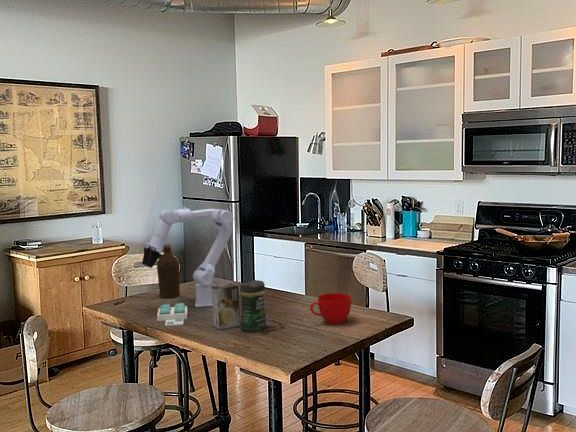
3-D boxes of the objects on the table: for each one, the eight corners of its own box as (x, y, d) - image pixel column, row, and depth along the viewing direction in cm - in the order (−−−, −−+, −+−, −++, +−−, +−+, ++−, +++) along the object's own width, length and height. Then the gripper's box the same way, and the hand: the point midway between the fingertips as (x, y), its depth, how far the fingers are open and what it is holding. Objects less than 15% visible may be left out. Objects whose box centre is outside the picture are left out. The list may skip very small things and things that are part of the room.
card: (183, 319, 243) (183, 318, 242) (183, 324, 236) (183, 323, 236) (166, 321, 241) (166, 319, 241) (165, 325, 235) (165, 324, 235)
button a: (184, 308, 254) (184, 302, 253) (184, 310, 250) (184, 304, 250) (175, 309, 253) (175, 303, 253) (175, 311, 249) (174, 305, 249)
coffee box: (234, 322, 237) (232, 282, 235) (240, 325, 231) (239, 285, 229) (213, 325, 233) (211, 285, 231) (218, 329, 227) (216, 288, 225)
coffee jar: (253, 333, 220) (251, 284, 218) (237, 330, 225) (235, 282, 223) (270, 327, 228) (268, 280, 226) (254, 324, 233) (252, 277, 231)
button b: (184, 312, 248) (184, 306, 247) (184, 314, 244) (183, 308, 244) (175, 312, 247) (174, 306, 247) (174, 315, 243) (174, 309, 243)
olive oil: (185, 296, 283) (182, 244, 280) (164, 300, 277) (161, 247, 274) (175, 292, 291) (172, 242, 289) (154, 296, 285) (151, 245, 282)
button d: (169, 313, 247) (169, 307, 247) (169, 315, 243) (169, 309, 243) (160, 313, 246) (160, 307, 246) (160, 316, 242) (159, 310, 242)
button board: (187, 311, 255) (187, 305, 255) (187, 319, 243) (186, 313, 243) (159, 313, 253) (158, 308, 253) (157, 321, 241) (157, 315, 241)
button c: (170, 309, 253) (170, 303, 252) (170, 311, 249) (169, 305, 249) (161, 310, 252) (160, 304, 252) (160, 312, 248) (160, 306, 248)
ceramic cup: (304, 321, 234) (303, 296, 233) (341, 315, 240) (341, 291, 239) (318, 330, 222) (317, 304, 221) (357, 323, 229) (357, 298, 228)
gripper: (146, 231, 258) (133, 260, 256) (155, 234, 245) (142, 264, 243) (161, 237, 261) (148, 266, 259) (171, 240, 248) (157, 270, 246)
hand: (146, 265), depth 251 cm, fingers open, 7 cm apart
